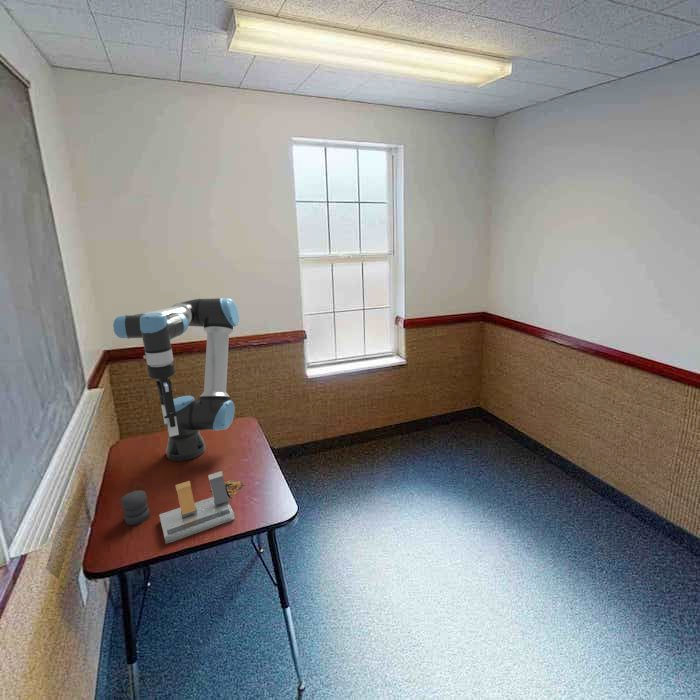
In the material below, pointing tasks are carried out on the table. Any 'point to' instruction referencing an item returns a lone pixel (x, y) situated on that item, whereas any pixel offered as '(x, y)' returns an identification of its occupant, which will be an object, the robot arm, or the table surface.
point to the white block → (218, 488)
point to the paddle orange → (185, 498)
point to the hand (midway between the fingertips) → (171, 428)
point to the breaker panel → (194, 519)
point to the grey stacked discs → (135, 507)
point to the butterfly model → (233, 487)
